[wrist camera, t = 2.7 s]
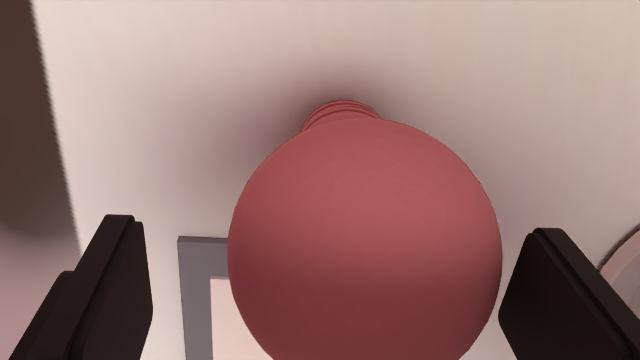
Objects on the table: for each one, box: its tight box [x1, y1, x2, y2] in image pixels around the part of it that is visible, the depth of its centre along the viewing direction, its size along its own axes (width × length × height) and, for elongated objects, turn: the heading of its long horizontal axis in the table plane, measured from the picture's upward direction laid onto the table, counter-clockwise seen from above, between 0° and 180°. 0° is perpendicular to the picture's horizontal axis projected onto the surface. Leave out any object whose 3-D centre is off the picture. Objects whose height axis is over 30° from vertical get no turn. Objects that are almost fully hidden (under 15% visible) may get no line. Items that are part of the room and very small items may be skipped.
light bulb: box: [227, 100, 502, 360], centre depth 15 cm, size 7×7×12 cm
